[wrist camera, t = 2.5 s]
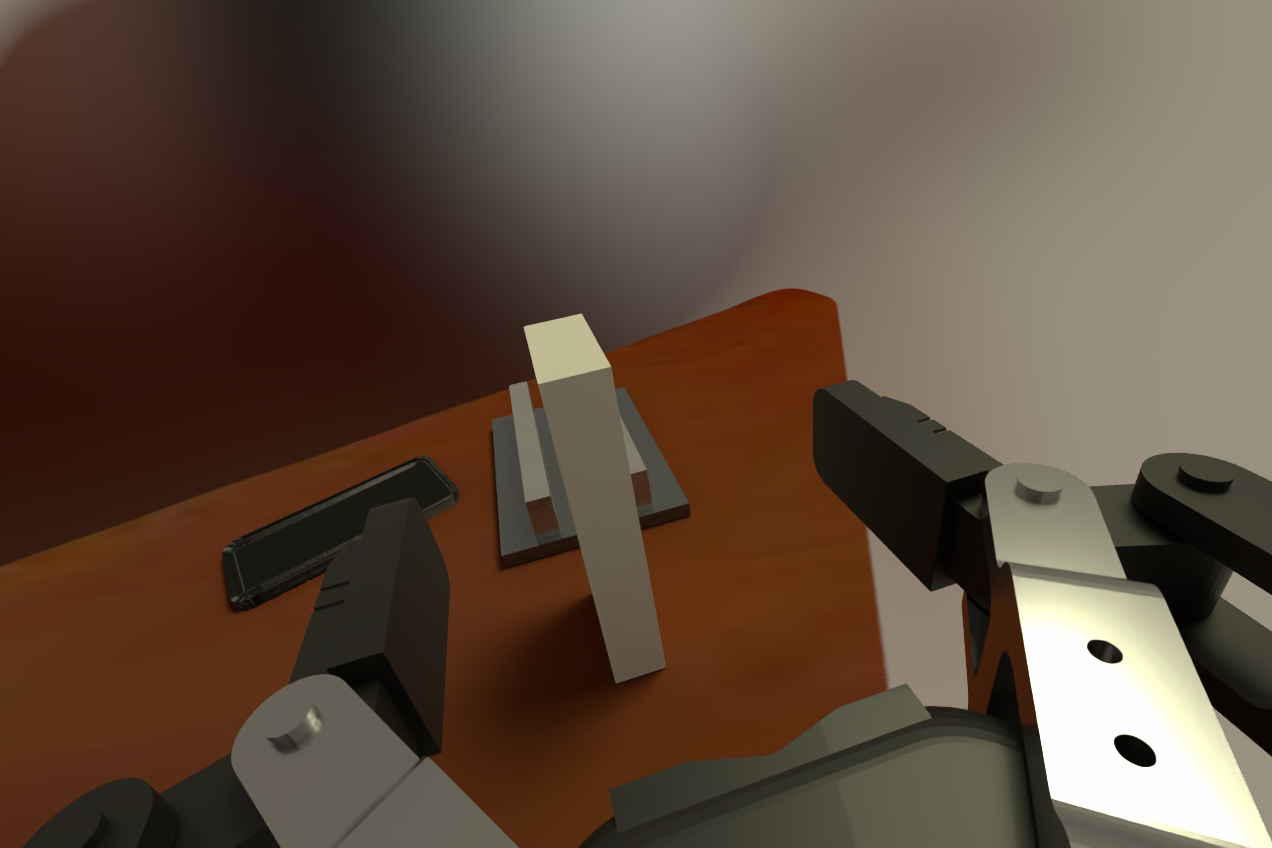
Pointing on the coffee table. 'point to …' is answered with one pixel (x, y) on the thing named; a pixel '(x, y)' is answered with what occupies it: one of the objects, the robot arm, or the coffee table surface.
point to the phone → (325, 531)
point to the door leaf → (598, 488)
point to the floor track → (537, 491)
